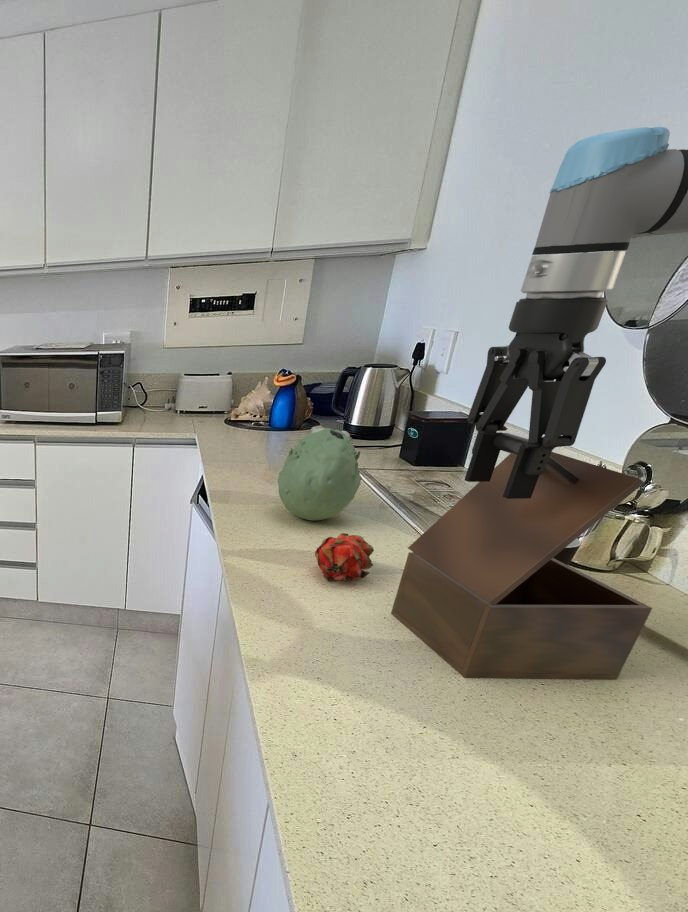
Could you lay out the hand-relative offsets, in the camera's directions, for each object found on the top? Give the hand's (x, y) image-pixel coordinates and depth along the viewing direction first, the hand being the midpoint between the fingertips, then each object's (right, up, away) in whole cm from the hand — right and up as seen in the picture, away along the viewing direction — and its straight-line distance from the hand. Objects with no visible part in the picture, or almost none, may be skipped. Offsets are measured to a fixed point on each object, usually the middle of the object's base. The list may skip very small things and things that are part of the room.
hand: (496, 488), depth 75 cm
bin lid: (+3, -4, +2) cm, 6 cm away
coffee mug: (+24, -15, +23) cm, 36 cm away
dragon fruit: (-2, -14, +29) cm, 32 cm away
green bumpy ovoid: (+9, -2, +55) cm, 56 cm away
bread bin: (+8, -22, +9) cm, 25 cm away
